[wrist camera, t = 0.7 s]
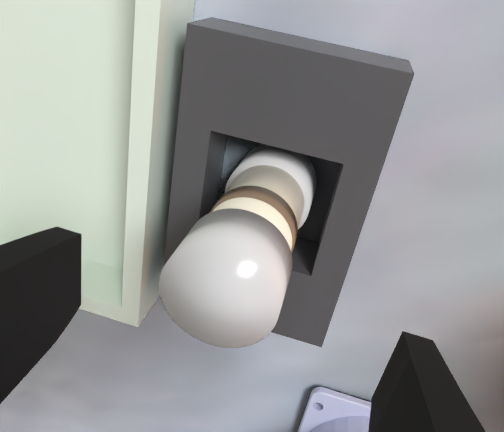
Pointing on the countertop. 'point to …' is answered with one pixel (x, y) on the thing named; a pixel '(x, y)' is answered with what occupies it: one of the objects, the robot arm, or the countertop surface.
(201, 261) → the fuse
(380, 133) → the fuse holder
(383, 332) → the countertop surface
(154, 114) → the parts tray
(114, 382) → the countertop surface
